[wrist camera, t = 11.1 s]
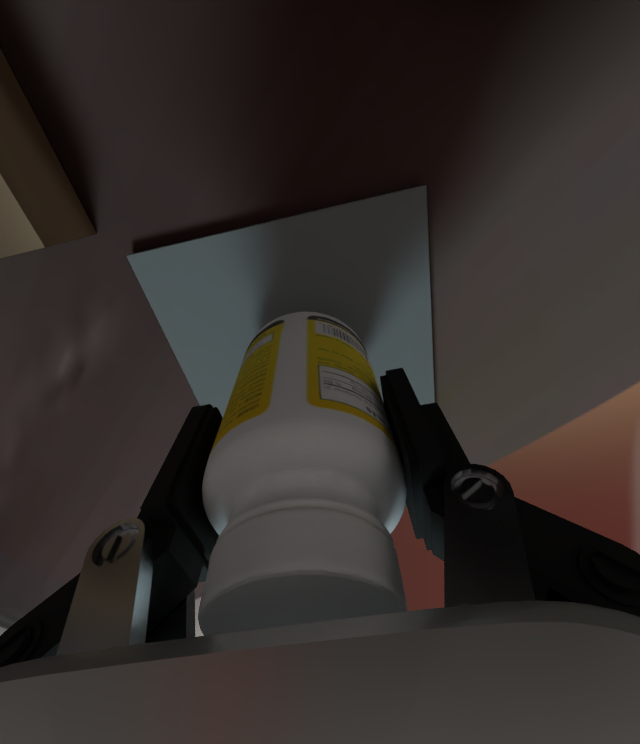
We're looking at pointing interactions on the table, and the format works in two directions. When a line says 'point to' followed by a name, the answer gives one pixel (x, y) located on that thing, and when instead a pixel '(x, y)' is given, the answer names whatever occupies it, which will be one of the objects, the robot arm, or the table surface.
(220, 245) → the mat
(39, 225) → the holder
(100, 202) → the table surface
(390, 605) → the supplement bottle
